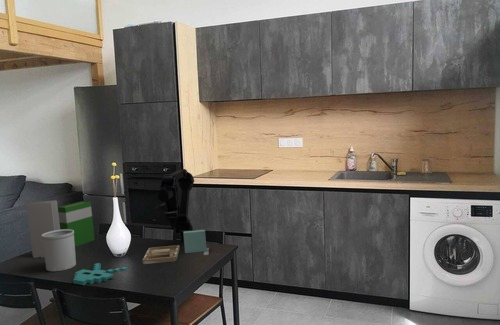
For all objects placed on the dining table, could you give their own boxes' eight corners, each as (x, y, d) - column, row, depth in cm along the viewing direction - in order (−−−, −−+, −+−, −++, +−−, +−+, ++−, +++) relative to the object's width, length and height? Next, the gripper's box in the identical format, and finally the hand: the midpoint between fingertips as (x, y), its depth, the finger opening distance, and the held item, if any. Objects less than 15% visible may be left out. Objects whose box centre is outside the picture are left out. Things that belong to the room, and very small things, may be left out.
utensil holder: (64, 260, 221) (60, 227, 219) (84, 263, 214) (80, 229, 212) (38, 270, 208) (34, 235, 206) (58, 273, 201) (54, 237, 199)
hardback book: (86, 239, 262) (82, 201, 259) (94, 240, 258) (90, 201, 255) (61, 247, 246) (56, 207, 244) (69, 248, 243) (65, 207, 240)
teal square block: (185, 252, 219) (183, 231, 218) (206, 250, 220) (205, 229, 219) (185, 253, 216) (183, 233, 215) (206, 251, 217) (204, 231, 216)
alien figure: (97, 267, 207) (63, 282, 190) (97, 263, 207) (62, 277, 189) (128, 271, 198) (94, 288, 180) (127, 267, 198) (94, 283, 180)
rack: (149, 253, 223) (148, 247, 223) (179, 250, 224) (179, 245, 224) (142, 266, 203) (142, 260, 203) (176, 262, 204) (175, 257, 204)
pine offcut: (153, 253, 210) (153, 250, 209) (169, 251, 210) (169, 248, 209) (152, 255, 206) (151, 252, 205) (168, 254, 206) (168, 251, 205)
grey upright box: (63, 253, 234) (56, 200, 230) (57, 256, 228) (51, 202, 225) (39, 254, 235) (32, 201, 232) (33, 257, 230) (26, 203, 227)
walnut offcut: (149, 256, 209) (149, 253, 209) (169, 254, 211) (169, 251, 210) (148, 259, 205) (148, 256, 205) (169, 256, 206) (169, 254, 206)
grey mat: (184, 250, 223) (184, 250, 223) (208, 248, 224) (208, 247, 224) (182, 257, 212) (182, 256, 212) (208, 255, 213) (208, 254, 213)
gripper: (158, 196, 230) (160, 224, 231) (153, 202, 211) (156, 233, 213) (178, 194, 231) (181, 222, 232) (175, 200, 212) (178, 231, 214)
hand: (173, 227), depth 223 cm, fingers open, 9 cm apart
